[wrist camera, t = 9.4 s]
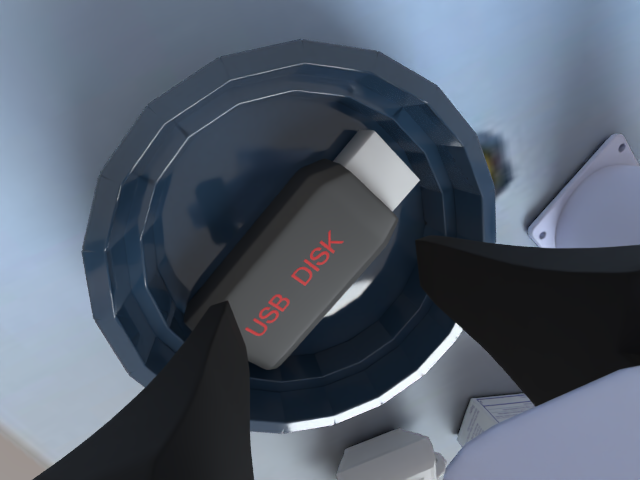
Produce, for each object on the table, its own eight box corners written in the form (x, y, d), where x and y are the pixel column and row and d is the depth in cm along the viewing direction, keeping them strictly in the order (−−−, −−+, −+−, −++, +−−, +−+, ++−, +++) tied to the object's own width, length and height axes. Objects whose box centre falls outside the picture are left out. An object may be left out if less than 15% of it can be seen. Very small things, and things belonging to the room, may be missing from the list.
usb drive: (185, 305, 16) (176, 339, 13) (342, 115, 15) (365, 112, 12) (267, 350, 18) (273, 386, 15) (410, 186, 17) (442, 197, 14)
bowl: (486, 209, 19) (554, 232, 15) (318, 403, 21) (338, 470, 17) (271, -28, 13) (290, -102, 9) (52, 280, 14) (-20, 341, 10)
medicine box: (453, 437, 26) (550, 574, 18) (469, 394, 25) (581, 520, 17) (527, 428, 28) (642, 545, 20) (545, 387, 27) (675, 496, 19)
